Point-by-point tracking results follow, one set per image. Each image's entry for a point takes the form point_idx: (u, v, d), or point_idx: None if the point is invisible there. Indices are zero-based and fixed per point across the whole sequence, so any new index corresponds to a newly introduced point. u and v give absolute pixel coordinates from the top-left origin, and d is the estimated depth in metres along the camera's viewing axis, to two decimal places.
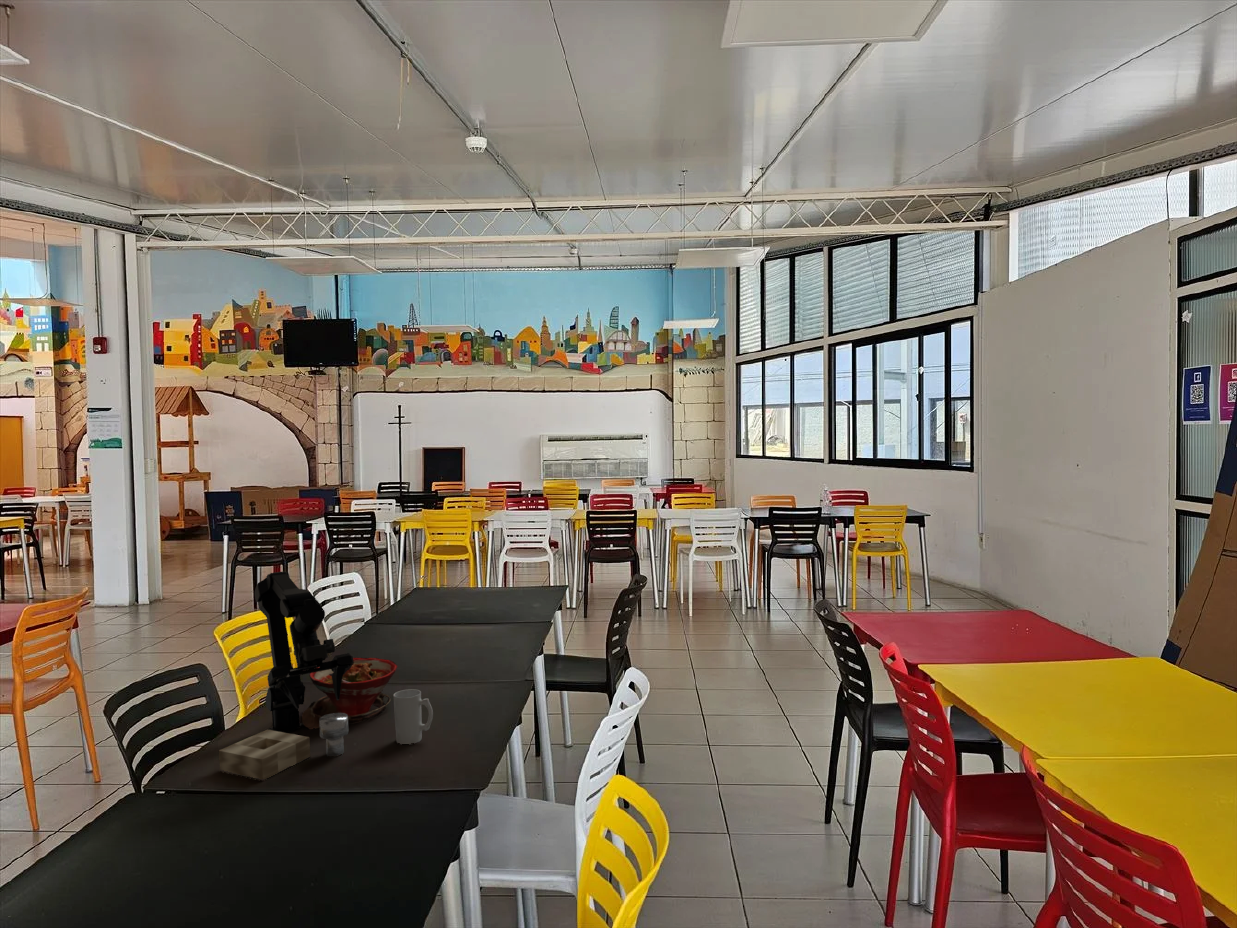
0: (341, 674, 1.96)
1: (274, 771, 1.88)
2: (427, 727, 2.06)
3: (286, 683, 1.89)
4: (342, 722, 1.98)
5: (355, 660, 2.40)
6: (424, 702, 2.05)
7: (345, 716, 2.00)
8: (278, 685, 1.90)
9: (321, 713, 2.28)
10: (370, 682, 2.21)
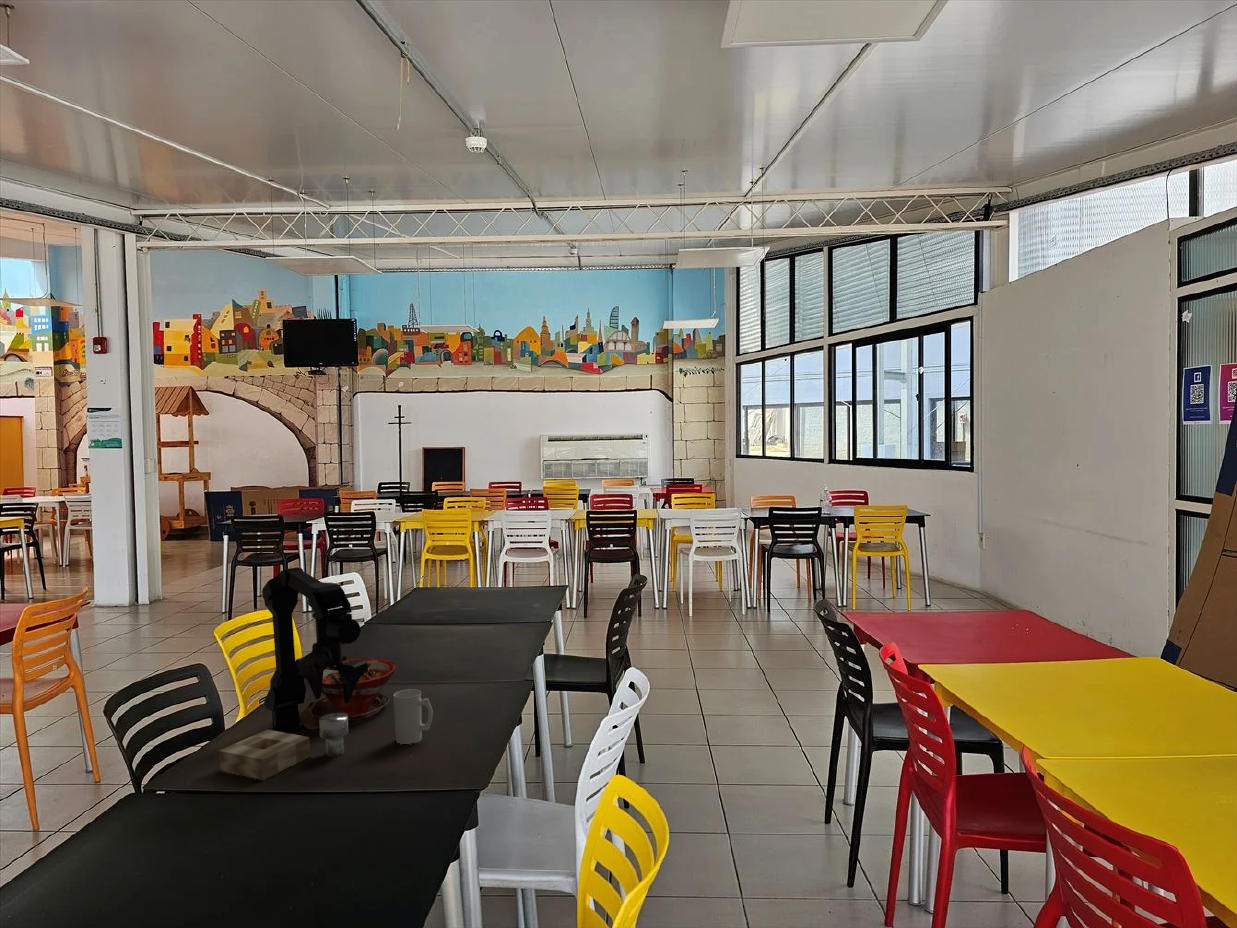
0: (345, 683, 1.95)
1: (274, 771, 1.88)
2: (427, 727, 2.06)
3: (304, 677, 2.00)
4: (342, 722, 1.98)
5: None
6: (424, 702, 2.05)
7: (345, 716, 2.00)
8: None
9: (320, 713, 2.27)
10: (369, 682, 2.20)
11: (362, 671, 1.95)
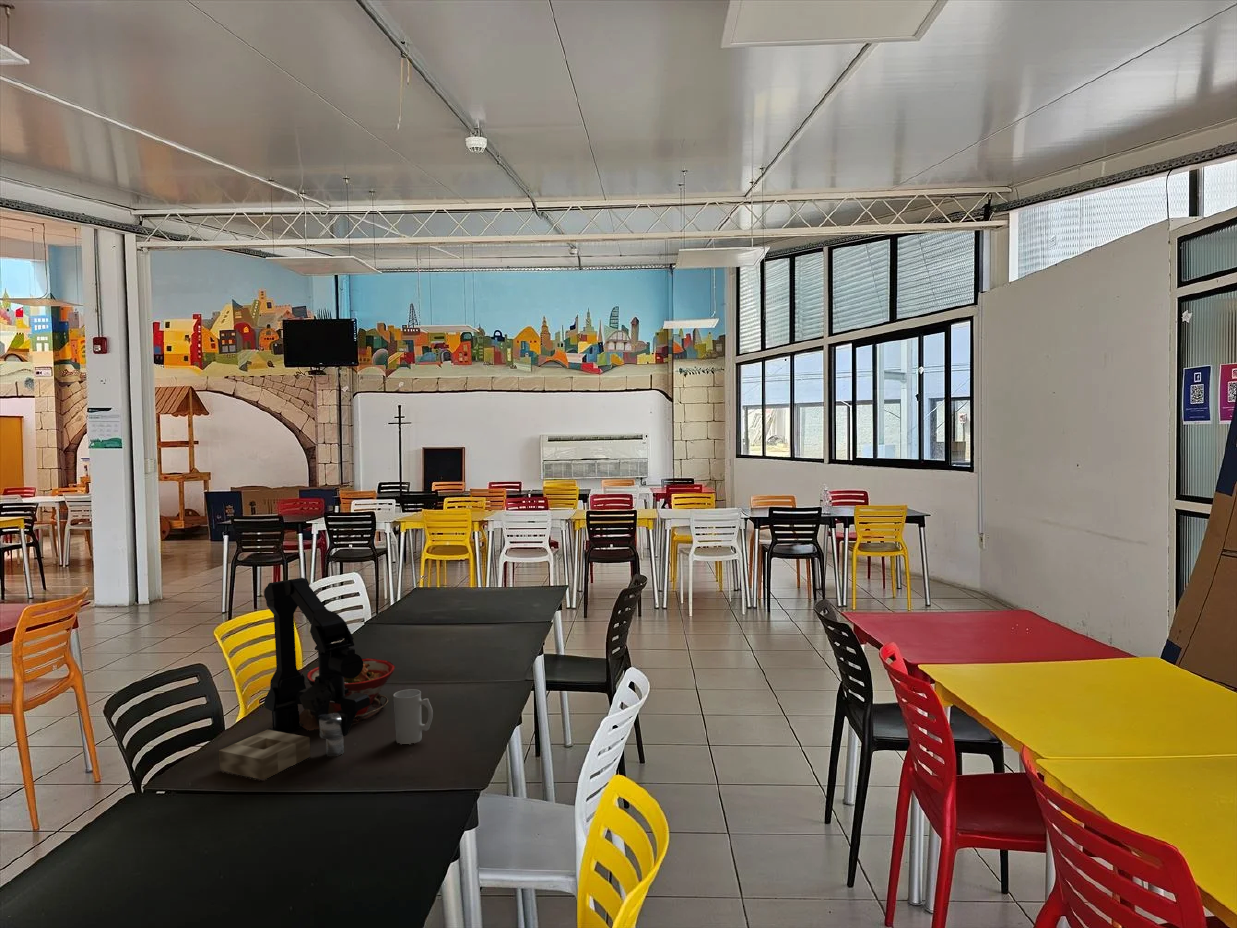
0: (344, 716, 1.96)
1: (274, 771, 1.88)
2: (427, 727, 2.06)
3: None
4: None
5: None
6: (424, 702, 2.05)
7: None
8: None
9: None
10: (368, 683, 2.20)
11: (364, 705, 1.96)
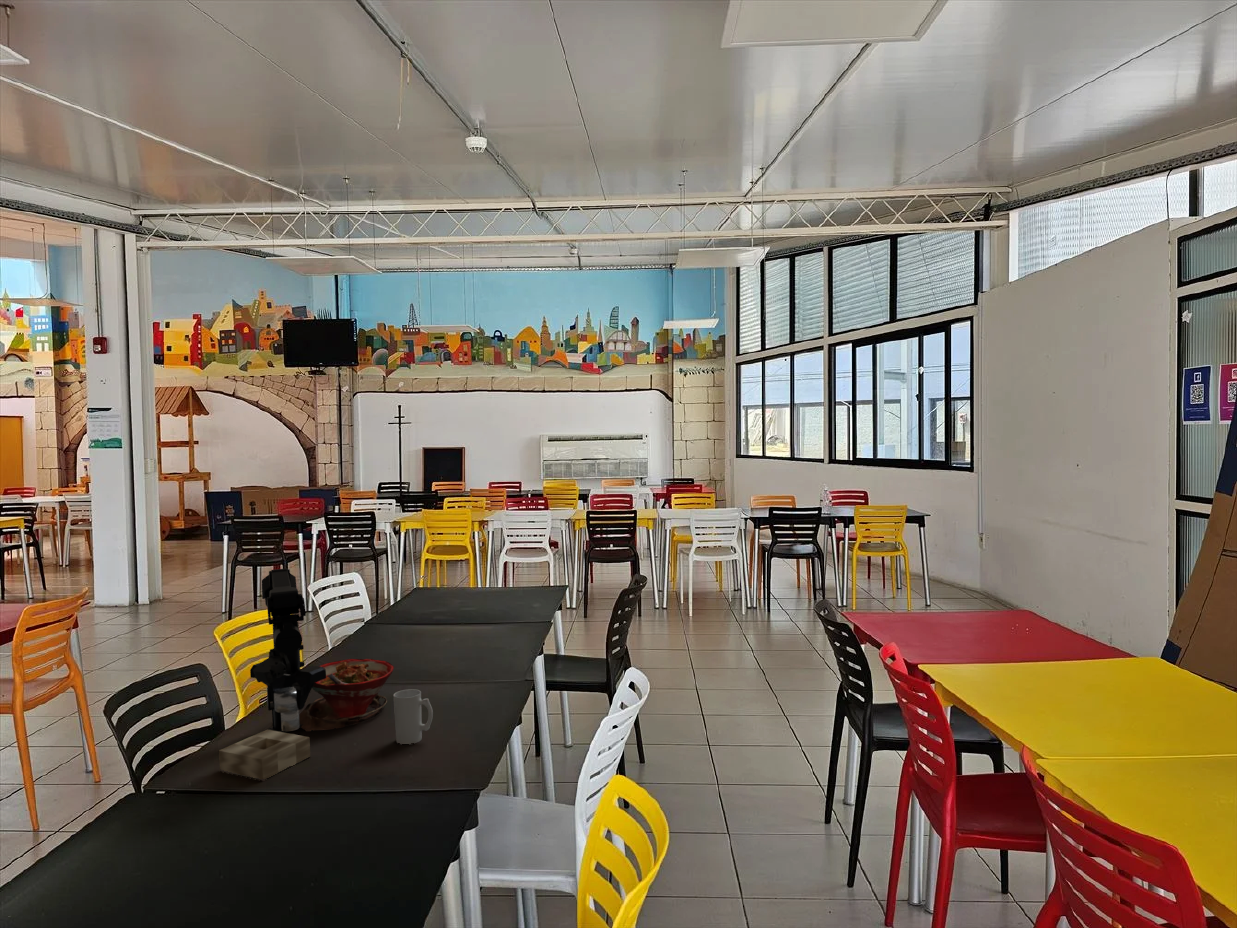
0: (299, 689, 1.92)
1: (274, 771, 1.88)
2: (427, 727, 2.06)
3: (265, 684, 1.96)
4: None
5: (350, 661, 2.38)
6: (424, 702, 2.05)
7: None
8: None
9: (317, 715, 2.26)
10: (368, 683, 2.19)
11: (320, 678, 1.92)
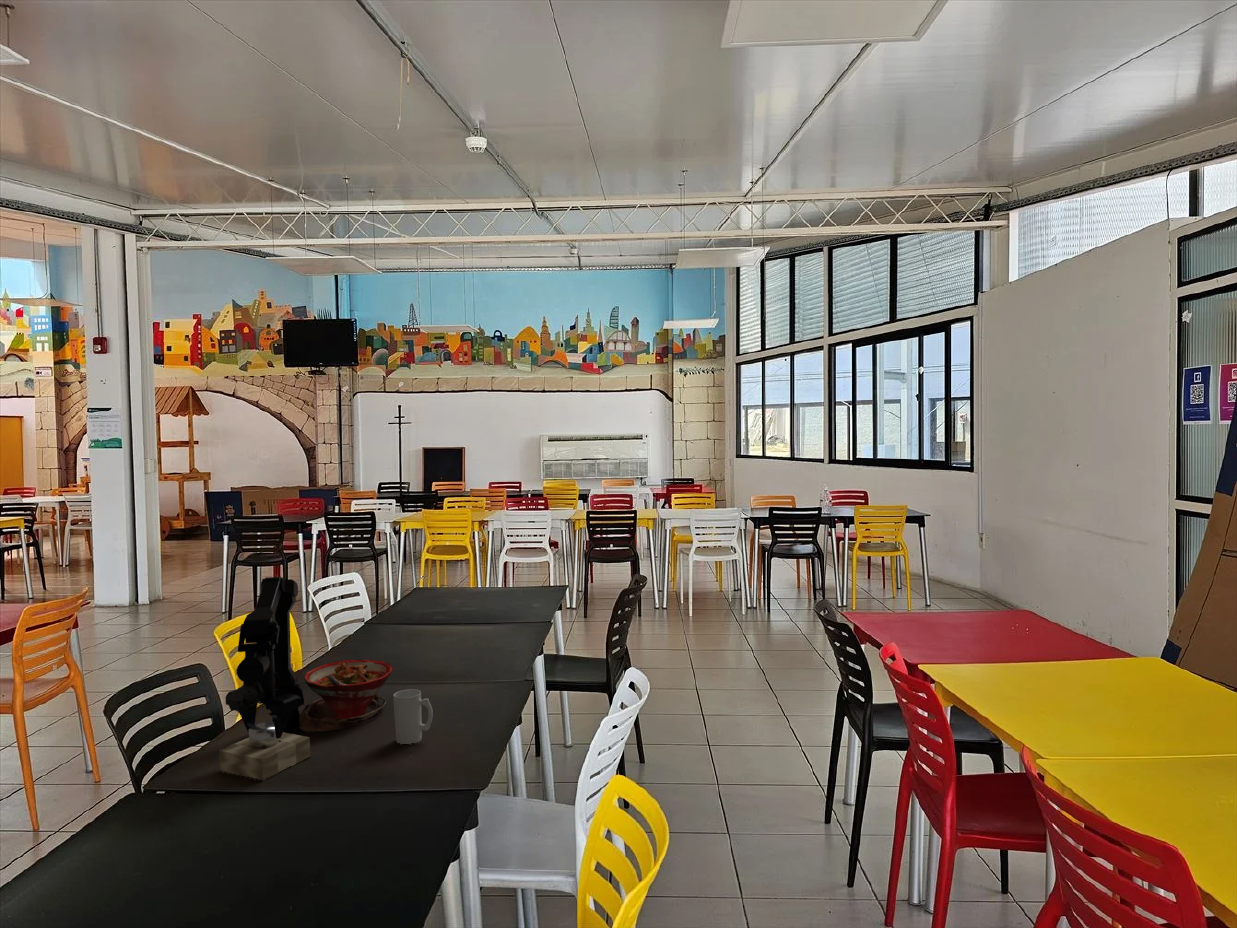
0: (276, 718, 1.90)
1: (274, 771, 1.88)
2: (427, 727, 2.06)
3: None
4: (272, 731, 1.92)
5: (349, 662, 2.37)
6: (424, 702, 2.05)
7: None
8: None
9: (316, 716, 2.25)
10: (367, 684, 2.19)
11: (294, 706, 1.90)
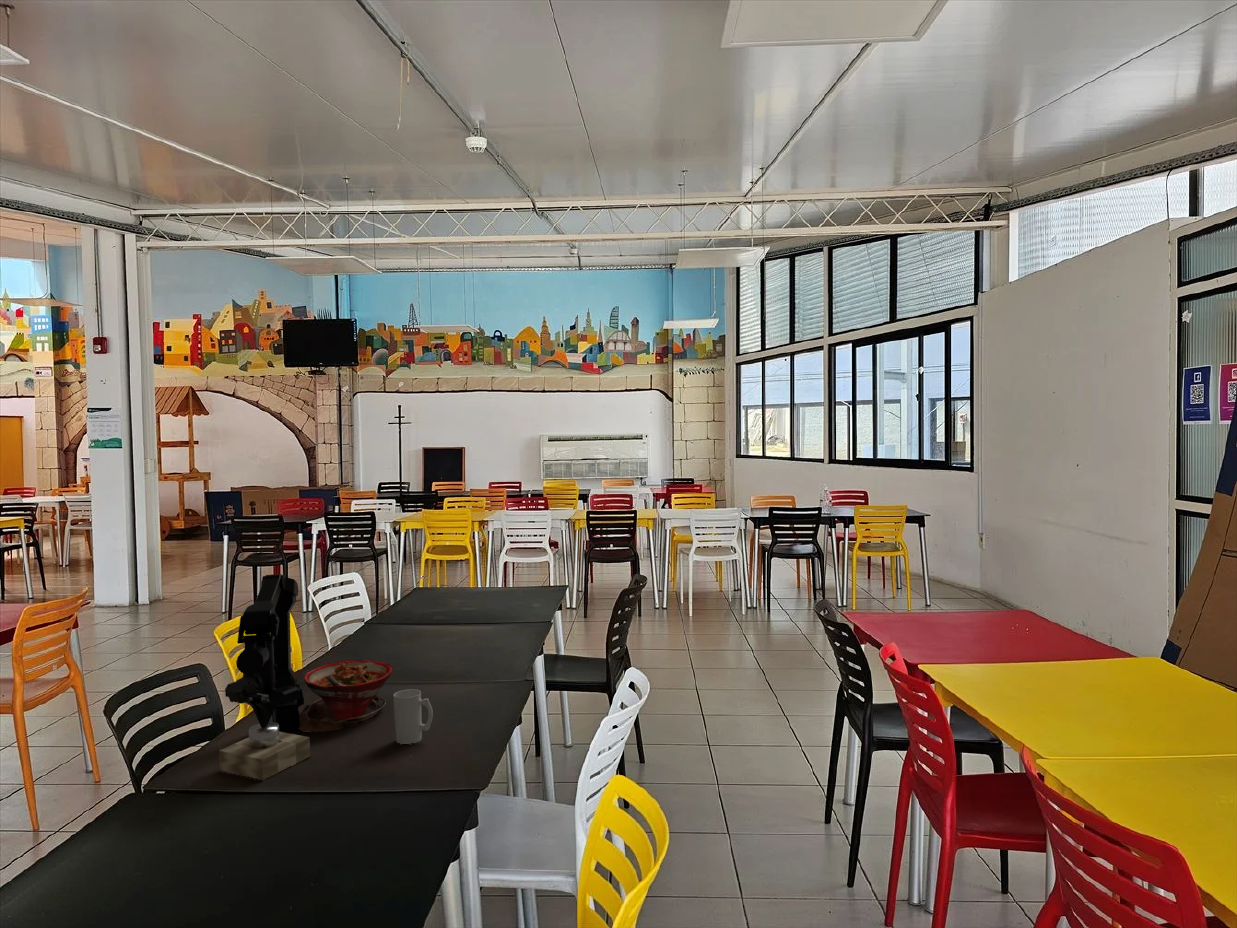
0: (262, 708, 1.92)
1: (274, 771, 1.88)
2: (427, 727, 2.06)
3: (249, 704, 1.93)
4: (272, 731, 1.92)
5: (349, 662, 2.37)
6: (424, 702, 2.05)
7: (276, 726, 1.94)
8: None
9: (316, 716, 2.25)
10: (366, 685, 2.18)
11: (293, 698, 1.90)
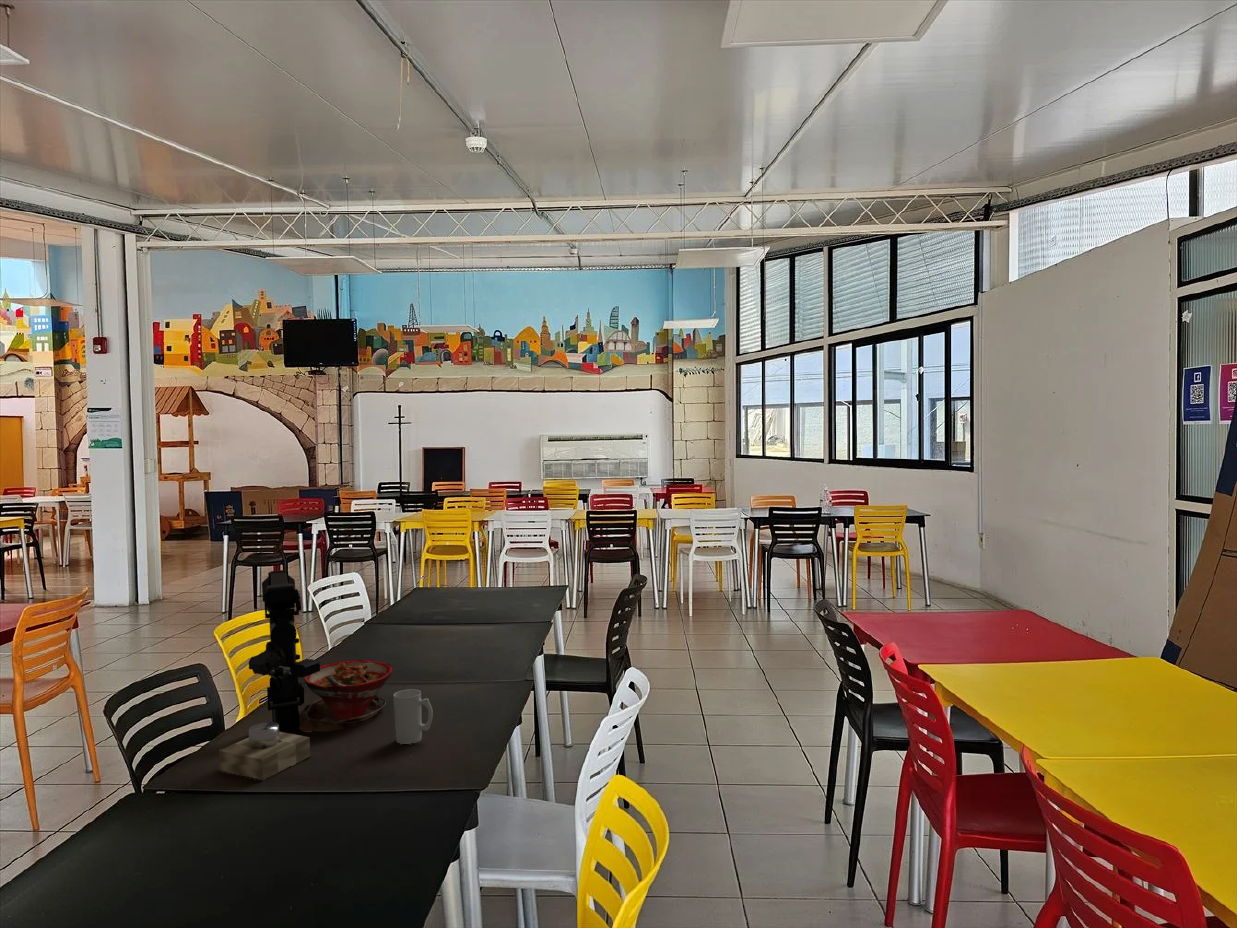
0: (284, 680, 2.00)
1: (274, 771, 1.88)
2: (427, 727, 2.06)
3: (272, 677, 2.01)
4: (272, 731, 1.92)
5: (350, 662, 2.37)
6: (424, 702, 2.05)
7: (276, 726, 1.94)
8: None
9: (316, 716, 2.25)
10: (366, 685, 2.18)
11: (314, 671, 1.99)
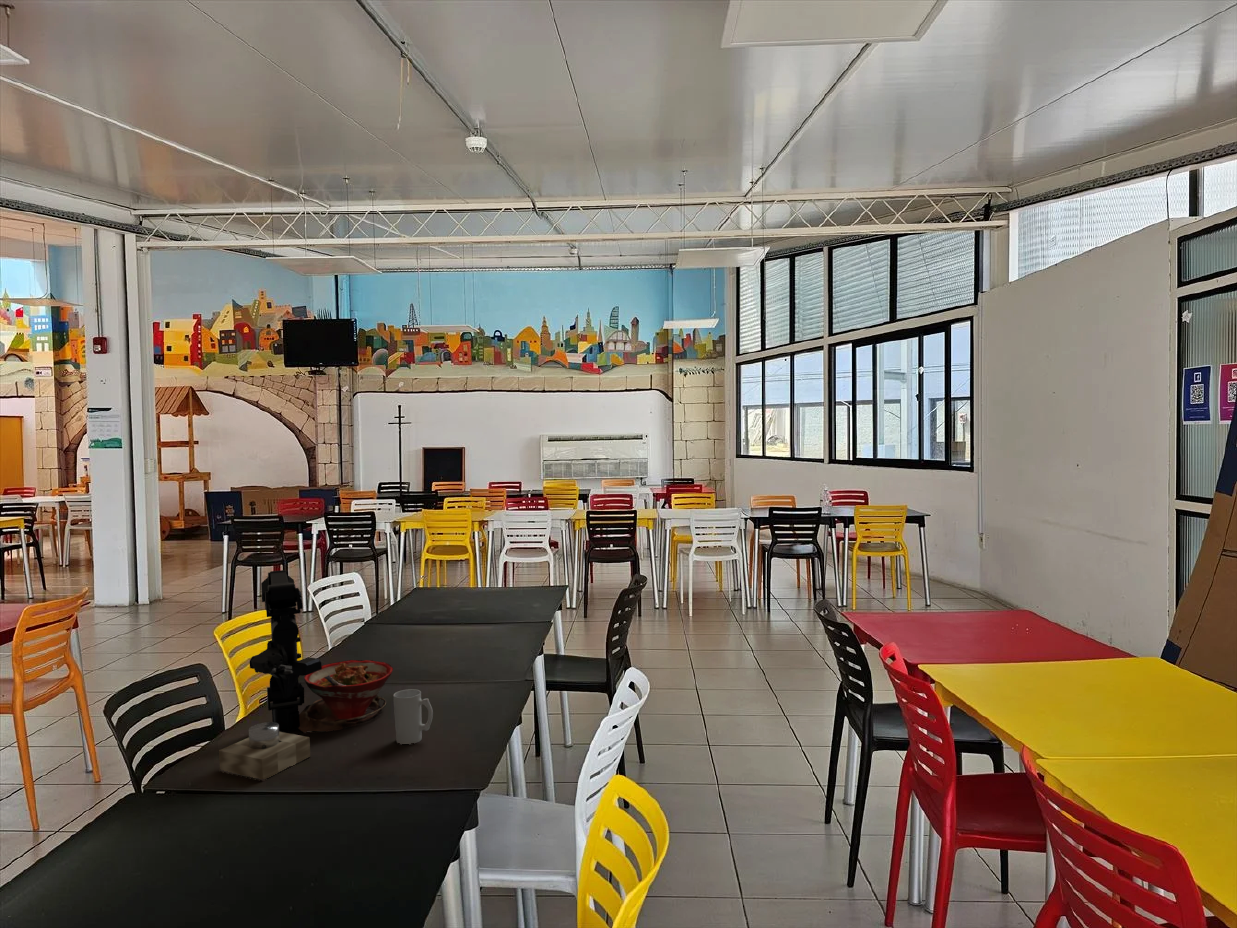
0: (285, 678, 2.00)
1: (274, 771, 1.88)
2: (427, 727, 2.06)
3: (273, 676, 2.02)
4: (272, 731, 1.92)
5: (350, 663, 2.37)
6: (424, 702, 2.05)
7: (276, 726, 1.94)
8: None
9: (316, 716, 2.25)
10: (365, 685, 2.18)
11: (315, 669, 1.99)
